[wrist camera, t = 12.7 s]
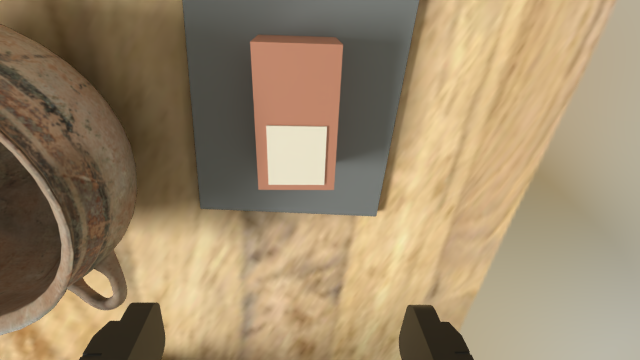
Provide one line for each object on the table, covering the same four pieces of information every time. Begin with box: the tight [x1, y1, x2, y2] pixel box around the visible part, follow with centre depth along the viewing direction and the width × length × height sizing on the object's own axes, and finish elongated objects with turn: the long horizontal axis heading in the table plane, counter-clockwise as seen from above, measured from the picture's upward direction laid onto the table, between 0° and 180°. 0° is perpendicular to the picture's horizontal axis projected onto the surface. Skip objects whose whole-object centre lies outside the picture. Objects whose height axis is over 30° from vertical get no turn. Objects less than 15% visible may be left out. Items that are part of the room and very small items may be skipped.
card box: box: [250, 35, 343, 190], centre depth 24 cm, size 10×6×5 cm, turn 178°
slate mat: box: [182, 0, 419, 216], centre depth 27 cm, size 16×20×1 cm
